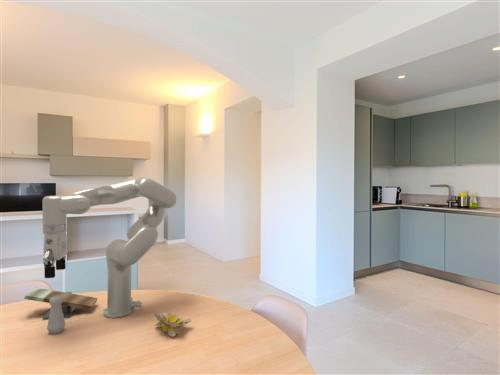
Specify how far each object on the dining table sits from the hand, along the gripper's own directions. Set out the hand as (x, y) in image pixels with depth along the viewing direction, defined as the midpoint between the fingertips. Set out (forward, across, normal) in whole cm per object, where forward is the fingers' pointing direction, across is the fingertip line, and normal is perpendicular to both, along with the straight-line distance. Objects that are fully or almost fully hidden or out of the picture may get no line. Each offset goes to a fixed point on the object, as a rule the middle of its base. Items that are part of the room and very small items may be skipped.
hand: (55, 273), depth 112 cm
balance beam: (+17, +18, +4) cm, 25 cm away
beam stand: (+22, +18, +4) cm, 29 cm away
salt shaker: (+22, 0, 0) cm, 22 cm away
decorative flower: (+23, -8, -43) cm, 49 cm away
